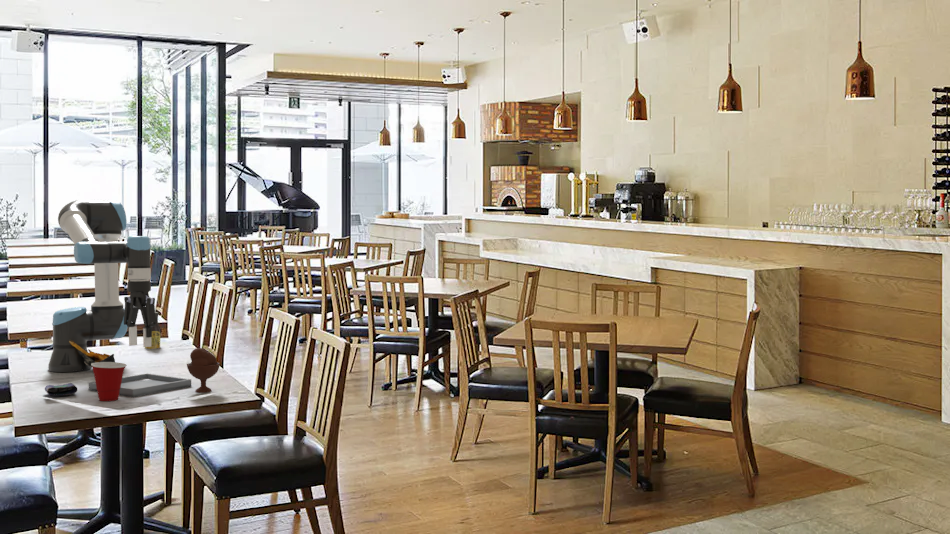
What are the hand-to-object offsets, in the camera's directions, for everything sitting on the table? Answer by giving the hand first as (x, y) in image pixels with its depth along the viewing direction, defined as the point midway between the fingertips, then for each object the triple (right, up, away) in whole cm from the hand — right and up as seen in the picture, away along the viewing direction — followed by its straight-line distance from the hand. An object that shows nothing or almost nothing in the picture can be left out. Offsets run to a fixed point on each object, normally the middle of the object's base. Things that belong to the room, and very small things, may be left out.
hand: (140, 345), depth 308 cm
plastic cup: (-2, -16, -20) cm, 26 cm away
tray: (0, -15, +1) cm, 15 cm away
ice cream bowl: (+23, -15, -5) cm, 28 cm away
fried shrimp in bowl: (-22, -13, +27) cm, 38 cm away
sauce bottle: (-22, -12, +73) cm, 77 cm away
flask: (-20, -16, -15) cm, 30 cm away
